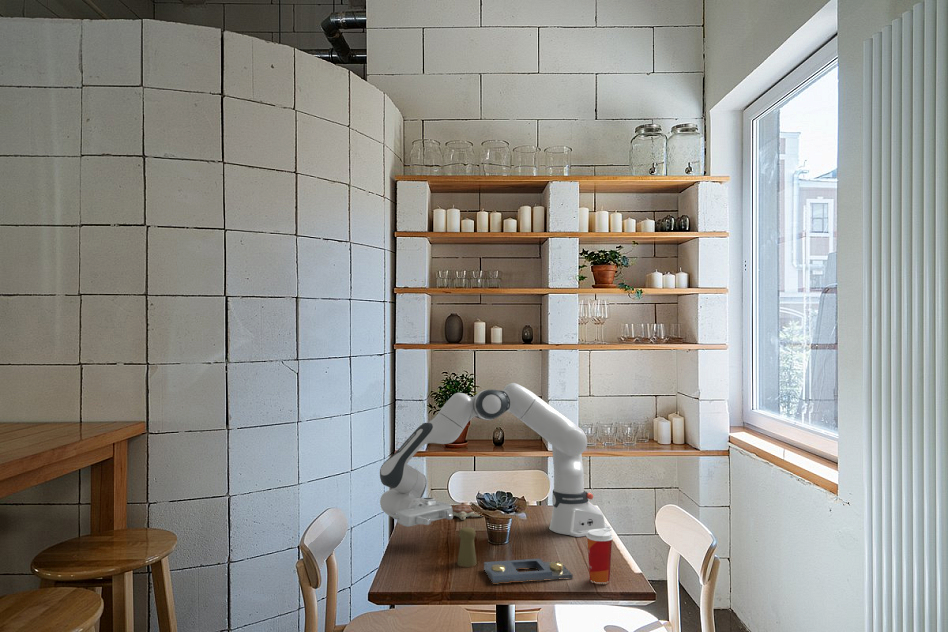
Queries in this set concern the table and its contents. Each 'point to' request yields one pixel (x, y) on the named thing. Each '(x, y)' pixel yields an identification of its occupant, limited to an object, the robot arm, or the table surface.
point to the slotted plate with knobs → (508, 572)
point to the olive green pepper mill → (467, 547)
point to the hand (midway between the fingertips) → (440, 519)
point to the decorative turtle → (463, 511)
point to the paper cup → (599, 554)
